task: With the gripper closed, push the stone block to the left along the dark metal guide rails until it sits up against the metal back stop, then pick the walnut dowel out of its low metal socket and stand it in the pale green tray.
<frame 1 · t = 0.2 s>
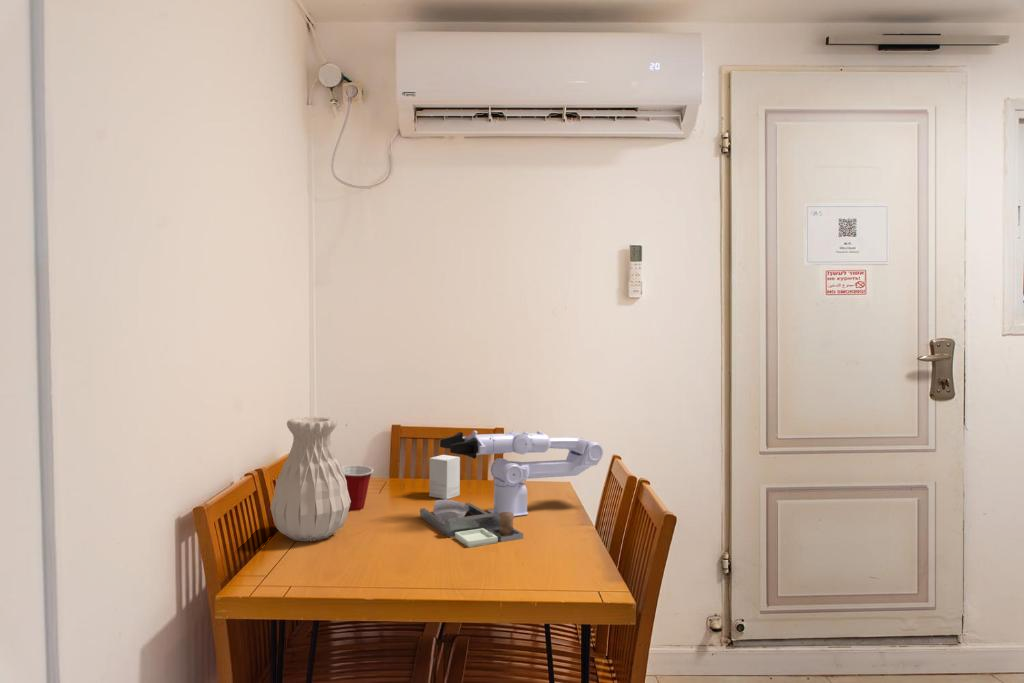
hand: (445, 446, 184), 21 cm above the table, tool horizontal, fingers open, 7 cm apart
stone block: (450, 518, 189), on the table
bench stop: (456, 520, 185), on the table
dowel socket: (506, 536, 172), on the table
vase: (311, 535, 171), on the table
dowel: (506, 525, 172), in the dowel socket
supplement box: (444, 496, 213), on the table
plastic cup: (354, 509, 197), on the table
tray: (476, 540, 168), on the table
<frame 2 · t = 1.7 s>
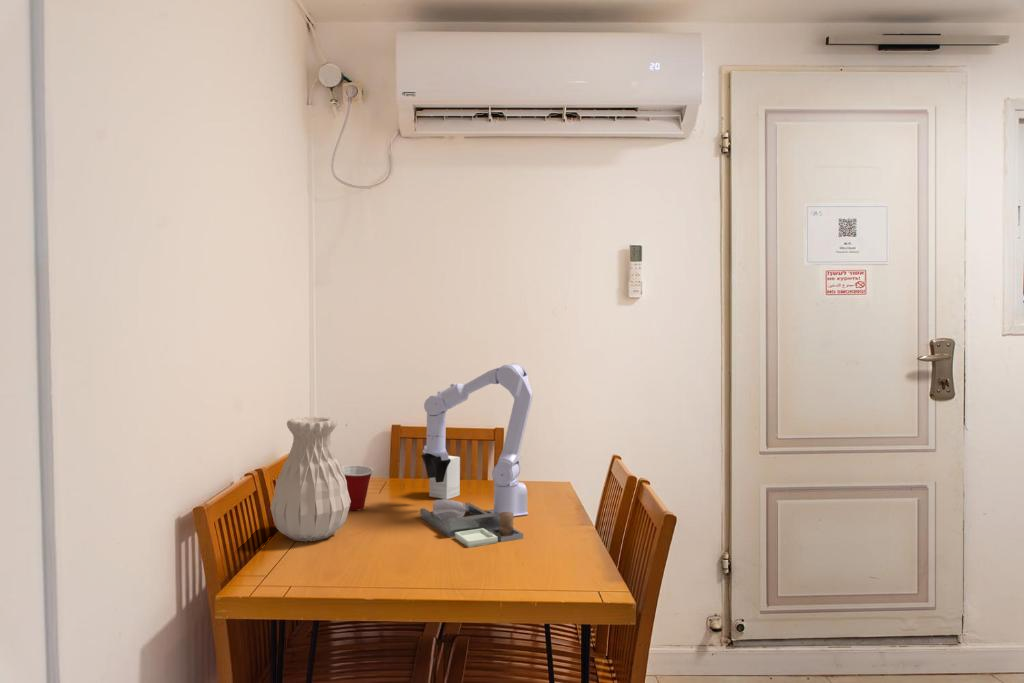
hand: (435, 479, 199), 8 cm above the table, tool pointing down, fingers open, 6 cm apart
nothing on the table moved.
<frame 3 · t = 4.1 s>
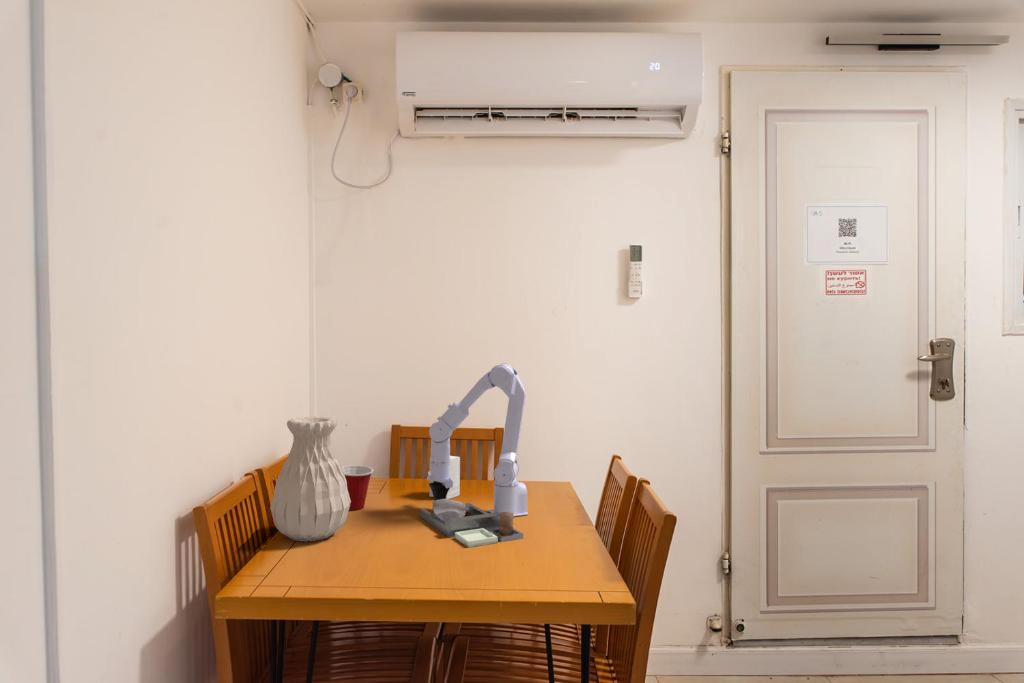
hand: (439, 506, 196), 1 cm above the table, tool pointing down, fingers closed
stone block: (449, 518, 189), on the table, touching gripper
everything else where it was.
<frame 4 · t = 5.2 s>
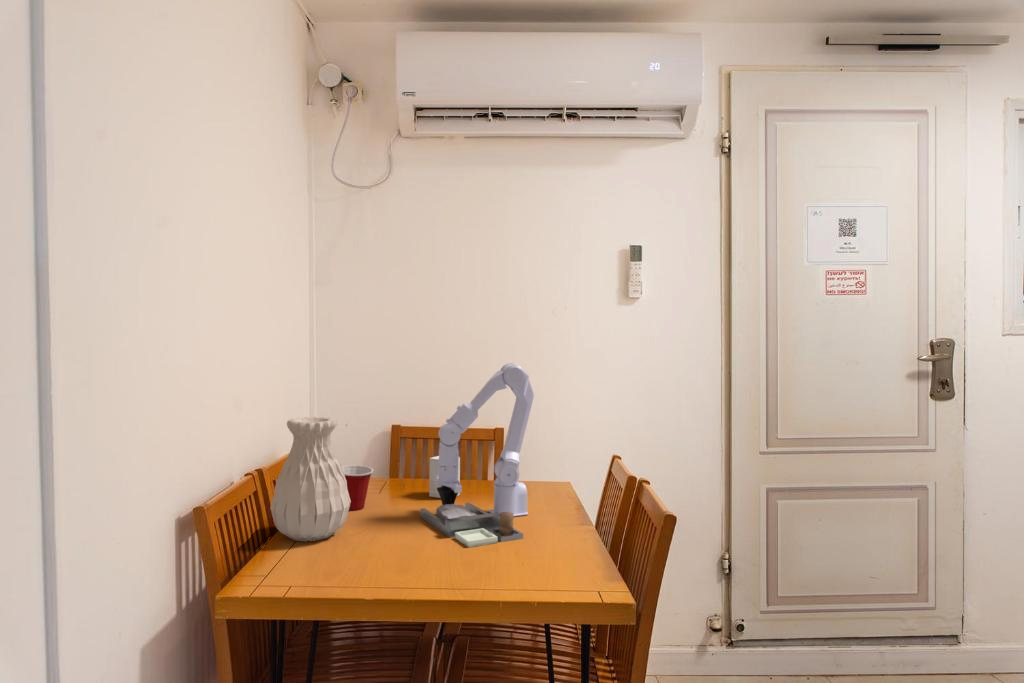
hand: (447, 512, 190), 1 cm above the table, tool pointing down, fingers closed
stone block: (458, 523, 184), on the table, touching gripper
everything else where it was.
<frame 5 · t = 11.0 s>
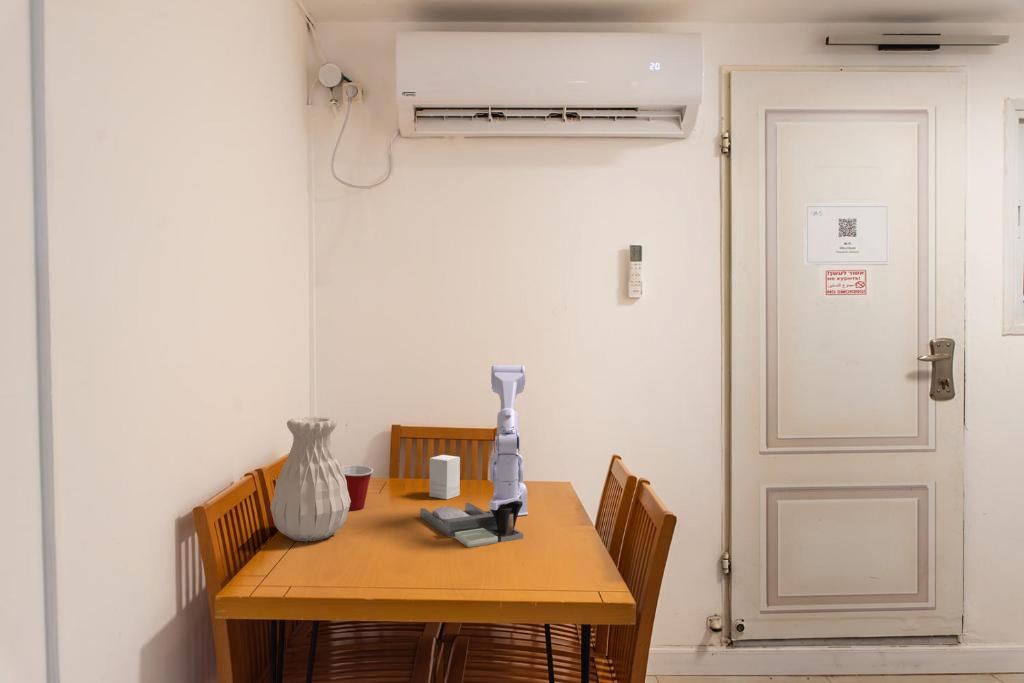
hand: (506, 531, 172), 1 cm above the table, tool pointing down, fingers closed on dowel, 4 cm apart
stone block: (454, 526, 182), on the table
dowel: (506, 525, 172), in the dowel socket, touching gripper
everything else where it was.
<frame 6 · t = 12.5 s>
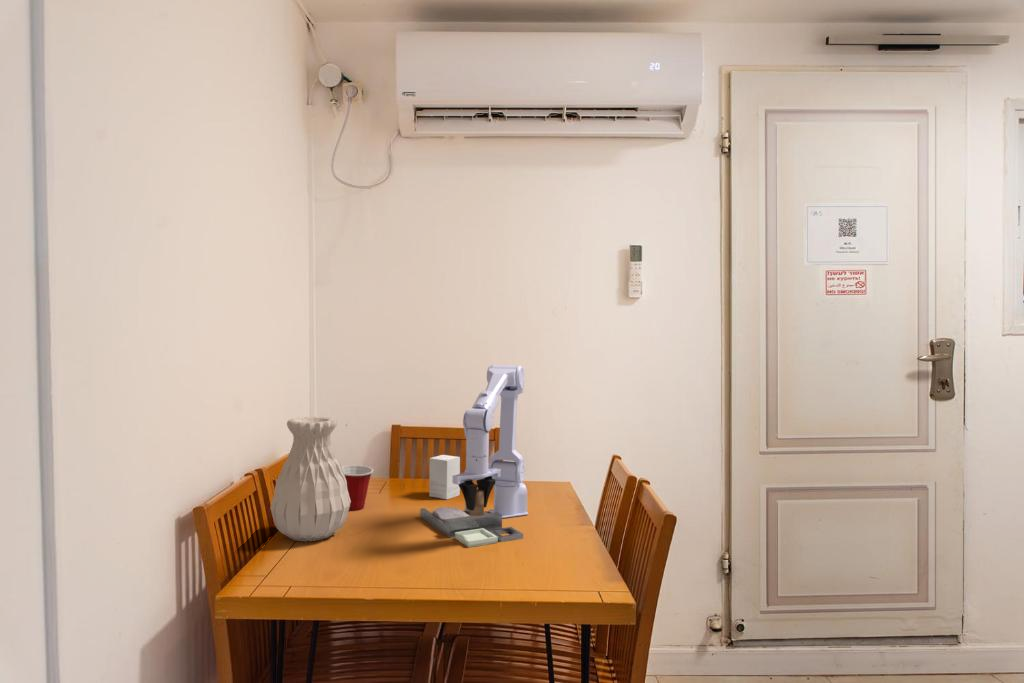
hand: (476, 508, 168), 8 cm above the table, tool pointing down, fingers closed on dowel, 4 cm apart
stone block: (455, 526, 182), on the table, touching bench stop
dowel: (476, 502, 168), point 10 cm above the table, touching gripper
everything else where it was.
when the fingers open (3 cm above the table, at t = 14.1 s): dowel stays where it is, resting on tray.
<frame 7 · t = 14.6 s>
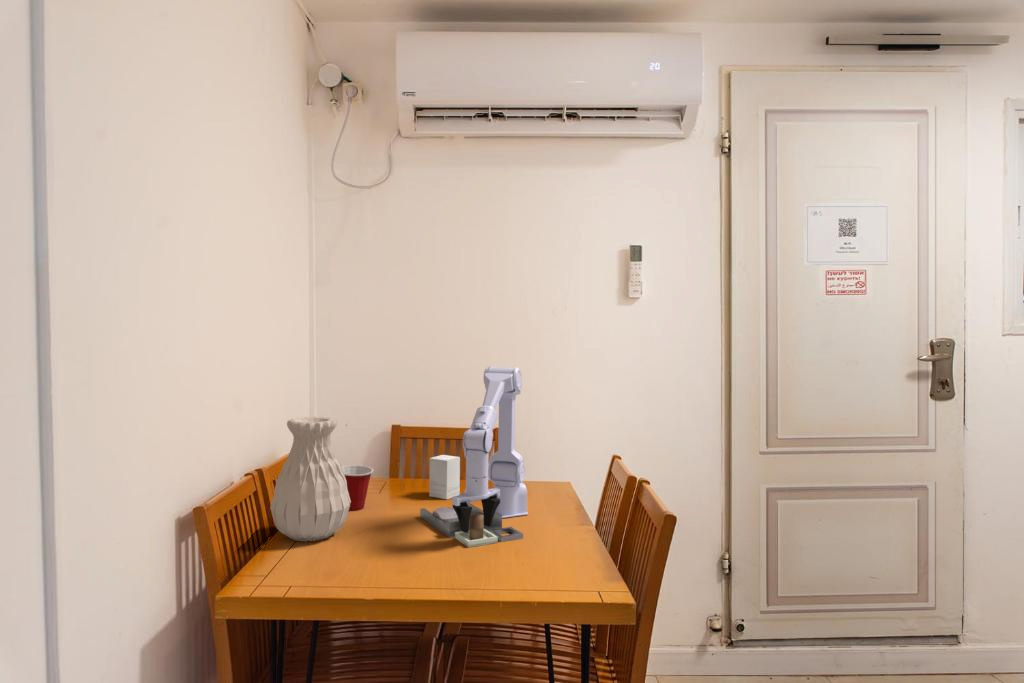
hand: (476, 528, 168), 3 cm above the table, tool pointing down, fingers open, 7 cm apart
stone block: (455, 526, 182), on the table
dowel: (476, 526, 168), point 4 cm above the table, touching tray
everything else where it was.
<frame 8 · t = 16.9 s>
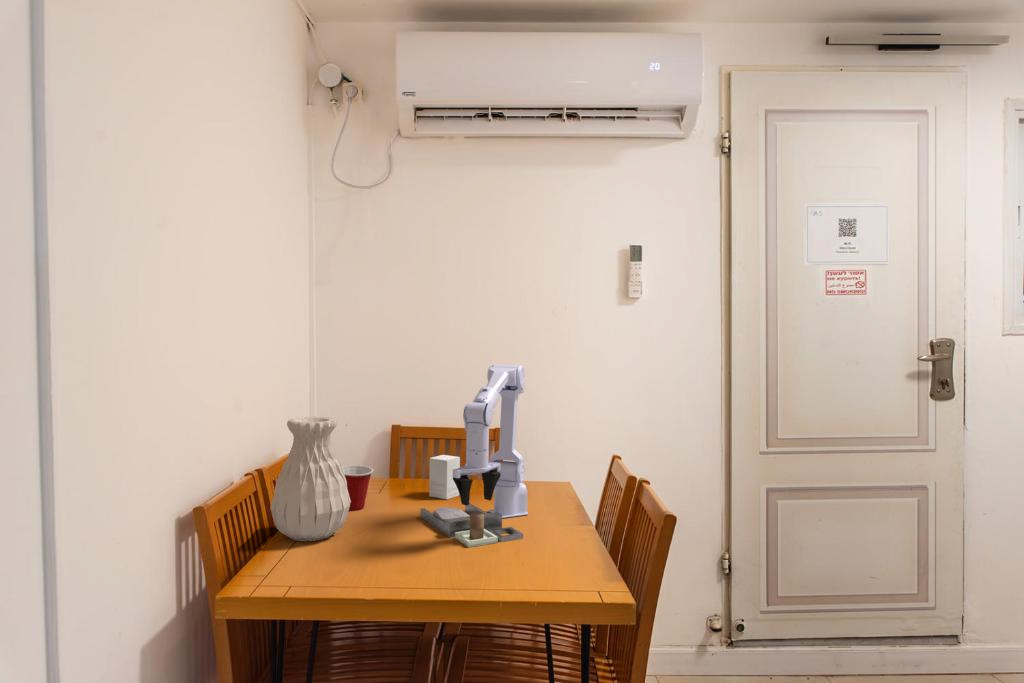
hand: (476, 502, 168), 10 cm above the table, tool pointing down, fingers open, 7 cm apart
nothing on the table moved.
at the end: stone block moved 7.5 cm from its start; stone block inside the target area (2.0 cm from its centre), on the table; dowel 0.1 cm off-centre on the tray, point 3.6 cm above the tray's base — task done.
